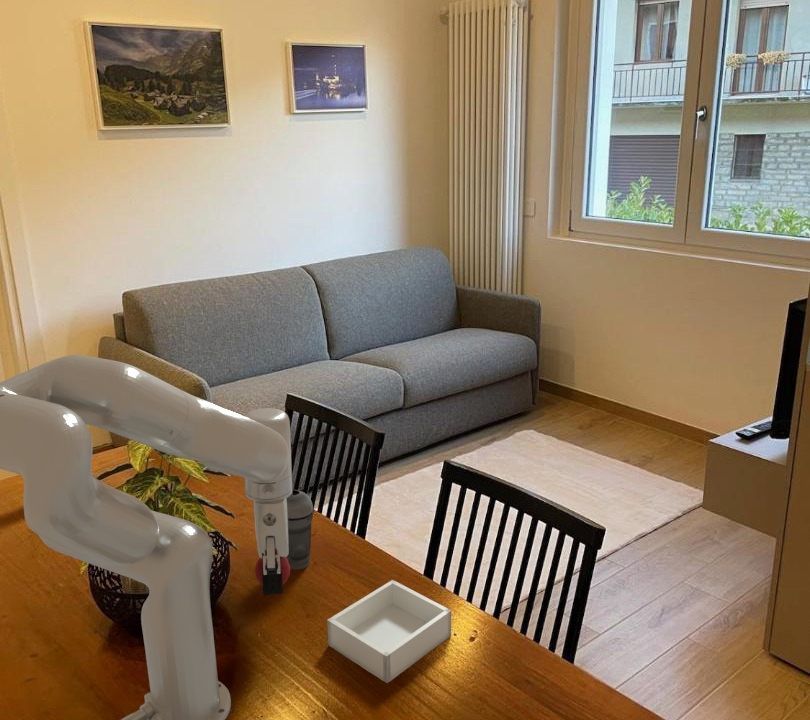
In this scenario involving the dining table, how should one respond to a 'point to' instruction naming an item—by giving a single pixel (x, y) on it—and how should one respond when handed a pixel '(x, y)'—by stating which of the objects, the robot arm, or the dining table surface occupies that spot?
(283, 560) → the onion
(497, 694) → the dining table surface
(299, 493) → the beverage cup
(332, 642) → the bin
